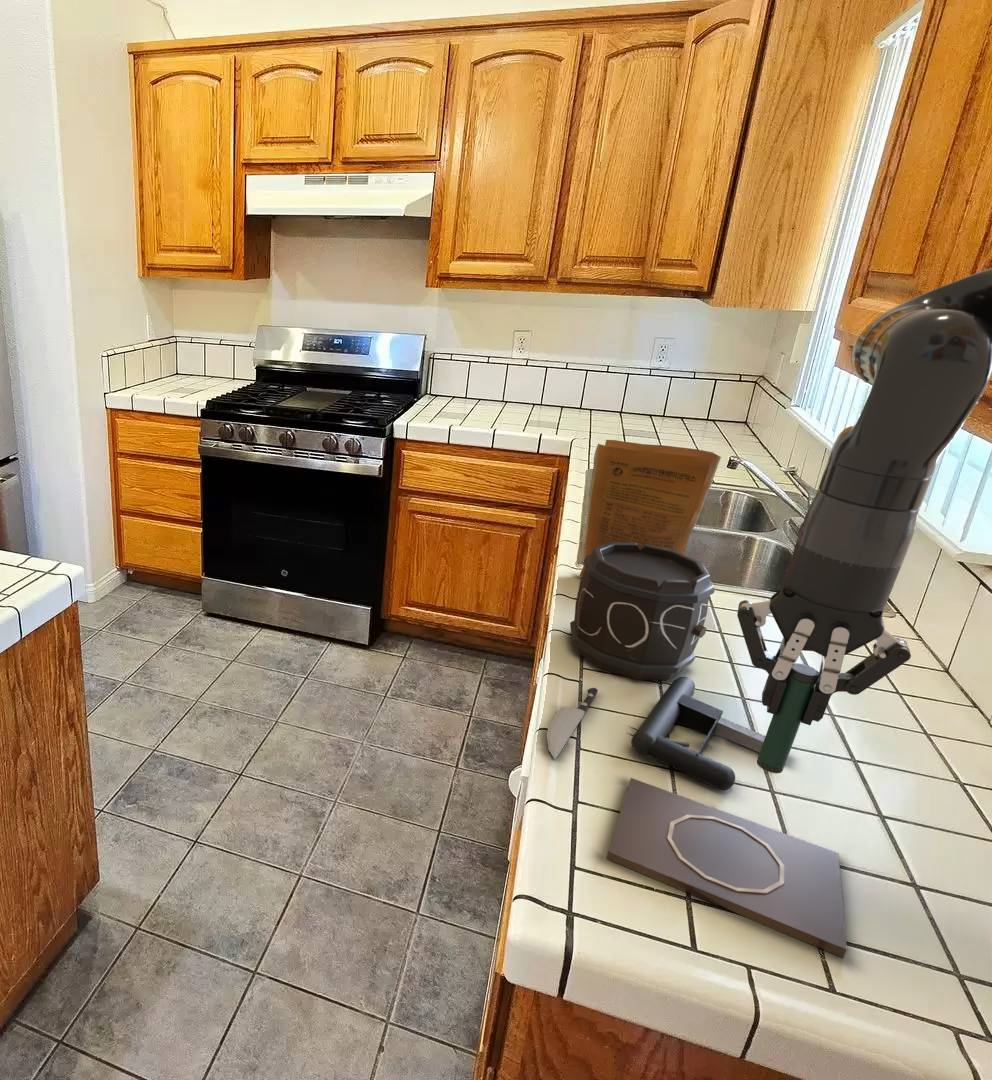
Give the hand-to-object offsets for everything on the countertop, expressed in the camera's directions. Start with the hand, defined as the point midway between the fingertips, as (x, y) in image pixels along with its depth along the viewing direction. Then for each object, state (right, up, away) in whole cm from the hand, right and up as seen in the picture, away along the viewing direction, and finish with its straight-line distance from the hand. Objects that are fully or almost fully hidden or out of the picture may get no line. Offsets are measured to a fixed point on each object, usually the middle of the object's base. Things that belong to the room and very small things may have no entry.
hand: (788, 714), depth 72 cm
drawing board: (-3, -16, +6) cm, 18 cm away
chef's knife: (-10, -7, +28) cm, 30 cm away
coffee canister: (+6, -1, +45) cm, 46 cm away
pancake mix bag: (+16, +7, +68) cm, 70 cm away
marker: (0, -6, +2) cm, 6 cm away
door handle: (+6, -10, +25) cm, 27 cm away
